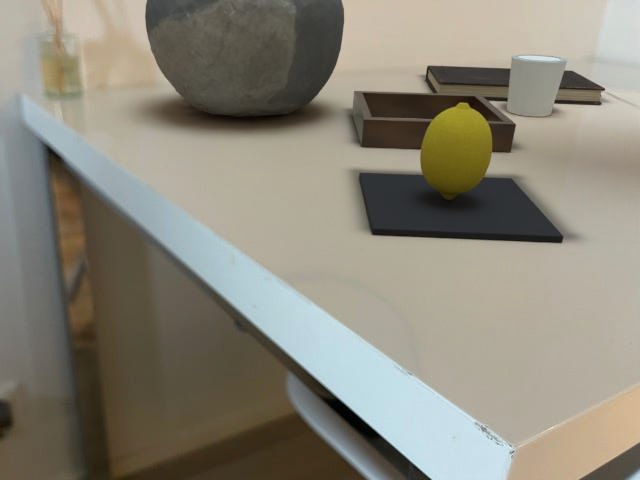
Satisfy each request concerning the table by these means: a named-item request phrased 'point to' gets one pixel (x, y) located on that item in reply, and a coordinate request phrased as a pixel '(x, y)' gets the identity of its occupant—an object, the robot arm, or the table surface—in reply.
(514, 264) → the table surface
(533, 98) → the white cup
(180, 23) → the bowl
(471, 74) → the hardcover book
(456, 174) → the lemon
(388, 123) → the tray
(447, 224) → the pad
